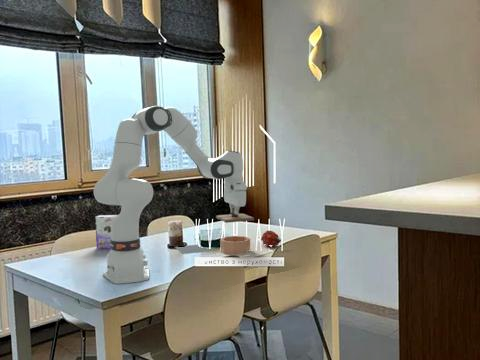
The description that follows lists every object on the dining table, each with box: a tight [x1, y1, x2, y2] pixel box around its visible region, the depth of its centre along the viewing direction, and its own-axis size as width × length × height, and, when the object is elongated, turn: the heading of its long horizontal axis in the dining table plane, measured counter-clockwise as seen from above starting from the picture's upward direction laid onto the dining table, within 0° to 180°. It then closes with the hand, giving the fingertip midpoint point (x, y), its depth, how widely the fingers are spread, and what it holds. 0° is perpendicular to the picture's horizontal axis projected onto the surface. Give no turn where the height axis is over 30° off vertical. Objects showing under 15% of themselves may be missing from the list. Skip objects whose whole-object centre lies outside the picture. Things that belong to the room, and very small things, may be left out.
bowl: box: [219, 235, 251, 255], centre depth 236 cm, size 14×14×6 cm
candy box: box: [94, 214, 118, 250], centre depth 247 cm, size 14×6×16 cm, turn 84°
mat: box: [174, 244, 215, 255], centre depth 241 cm, size 16×16×1 cm
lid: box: [215, 207, 255, 224], centre depth 234 cm, size 14×14×5 cm
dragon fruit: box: [260, 230, 282, 246], centre depth 245 cm, size 8×8×12 cm
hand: (234, 213), depth 234 cm, fingers closed on lid, 3 cm apart
